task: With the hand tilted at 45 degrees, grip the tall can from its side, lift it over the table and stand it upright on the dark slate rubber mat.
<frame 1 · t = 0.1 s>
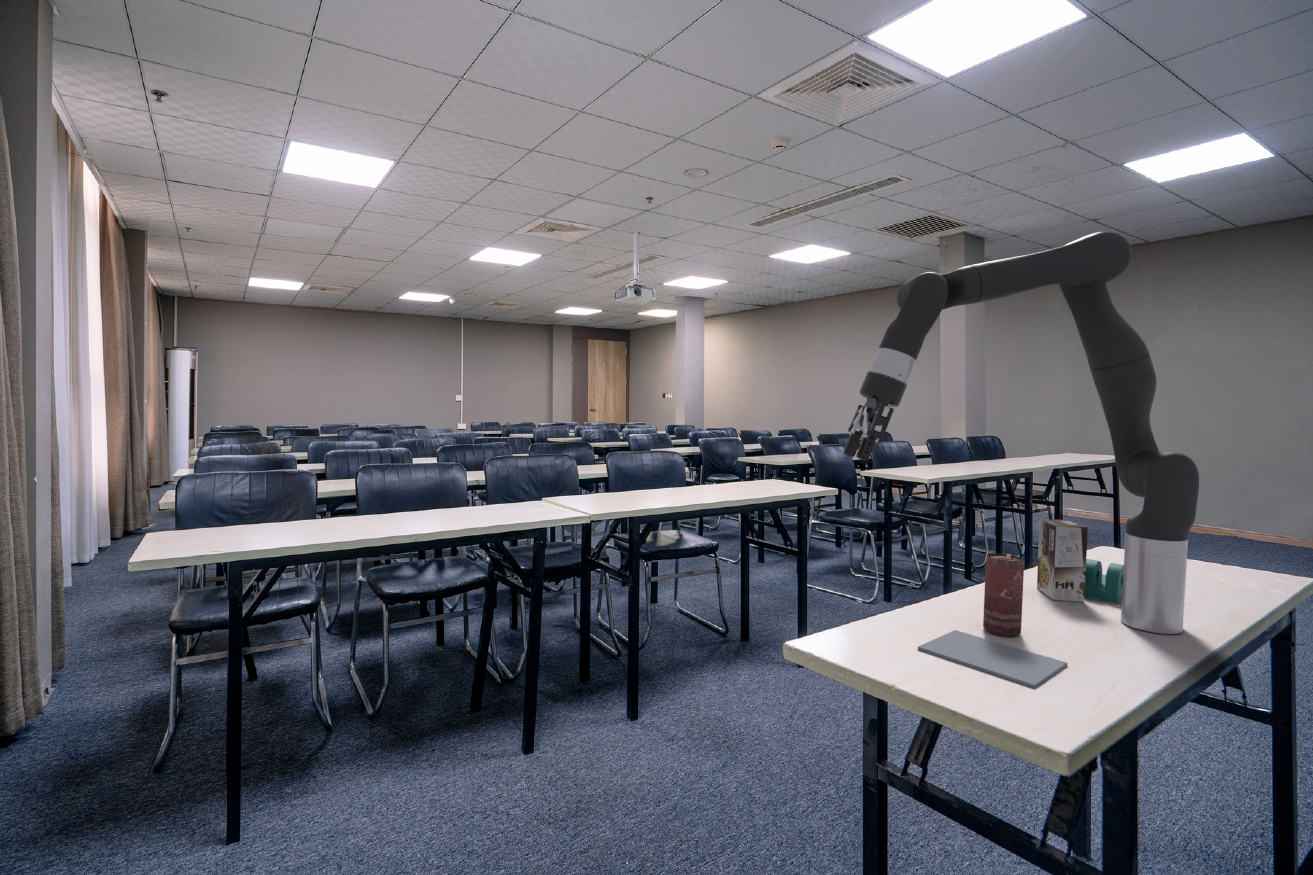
hand: (854, 457, 118), 31 cm above the table, tool tilted 20°, fingers open, 8 cm apart
coffee box: (1059, 595, 137), on the table
mat: (990, 657, 103), on the table
can: (1001, 632, 114), on the table
bracket: (1110, 593, 140), on the table
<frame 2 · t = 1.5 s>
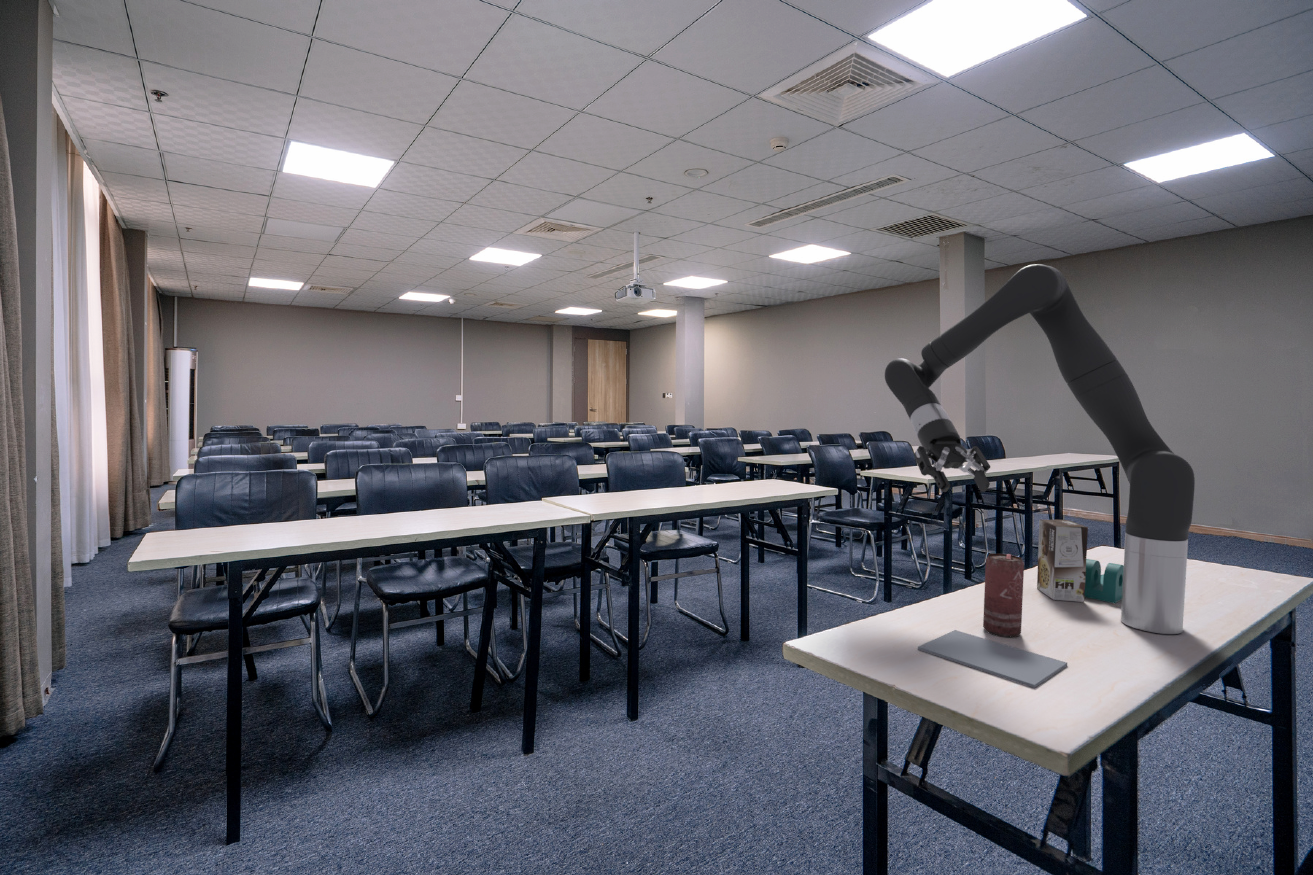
hand: (966, 489, 124), 25 cm above the table, tool tilted 45°, fingers open, 8 cm apart
nothing on the table moved.
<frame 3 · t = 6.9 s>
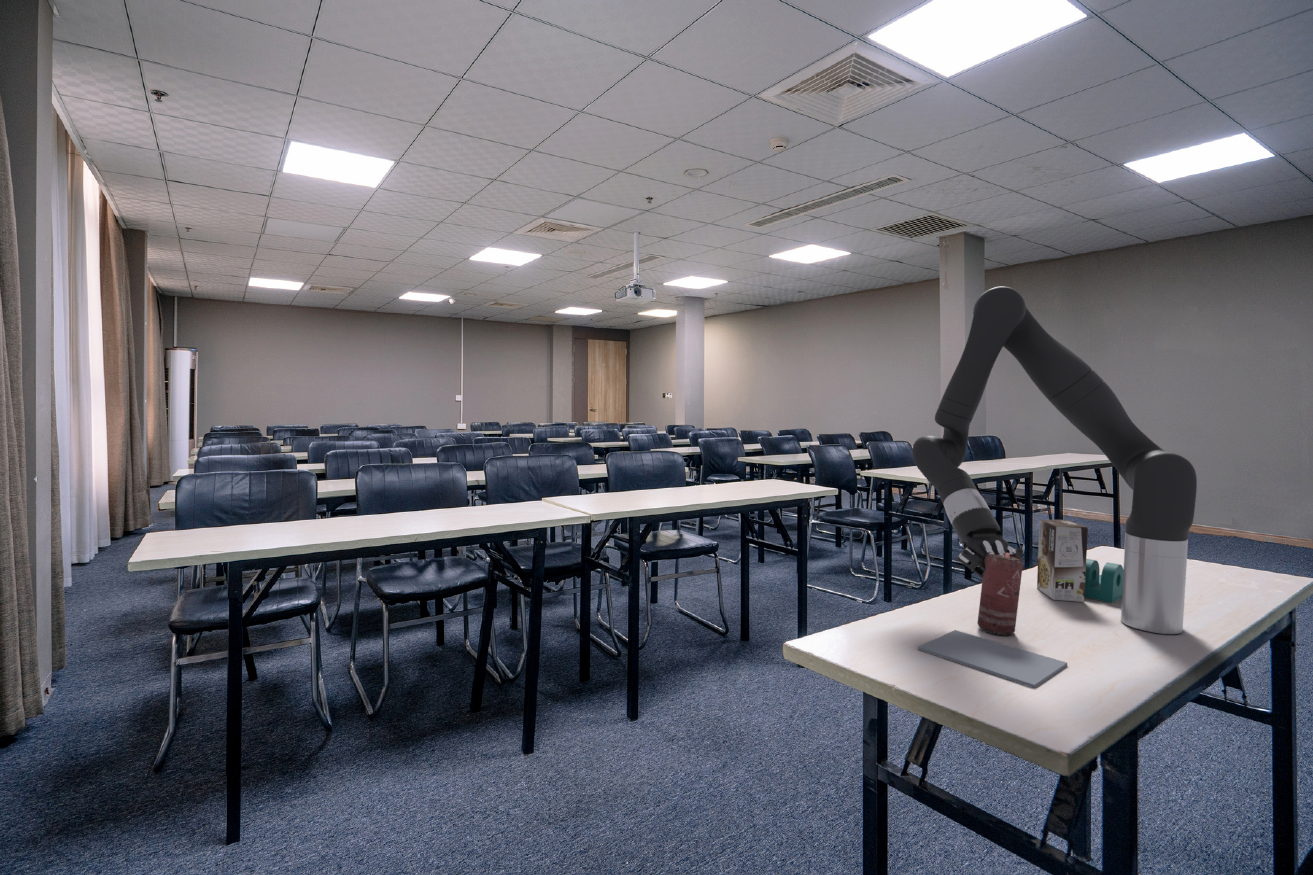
hand: (1012, 597, 112), 7 cm above the table, tool tilted 45°, fingers closed
can: (995, 630, 115), on the table, touching hand
everything else where it was.
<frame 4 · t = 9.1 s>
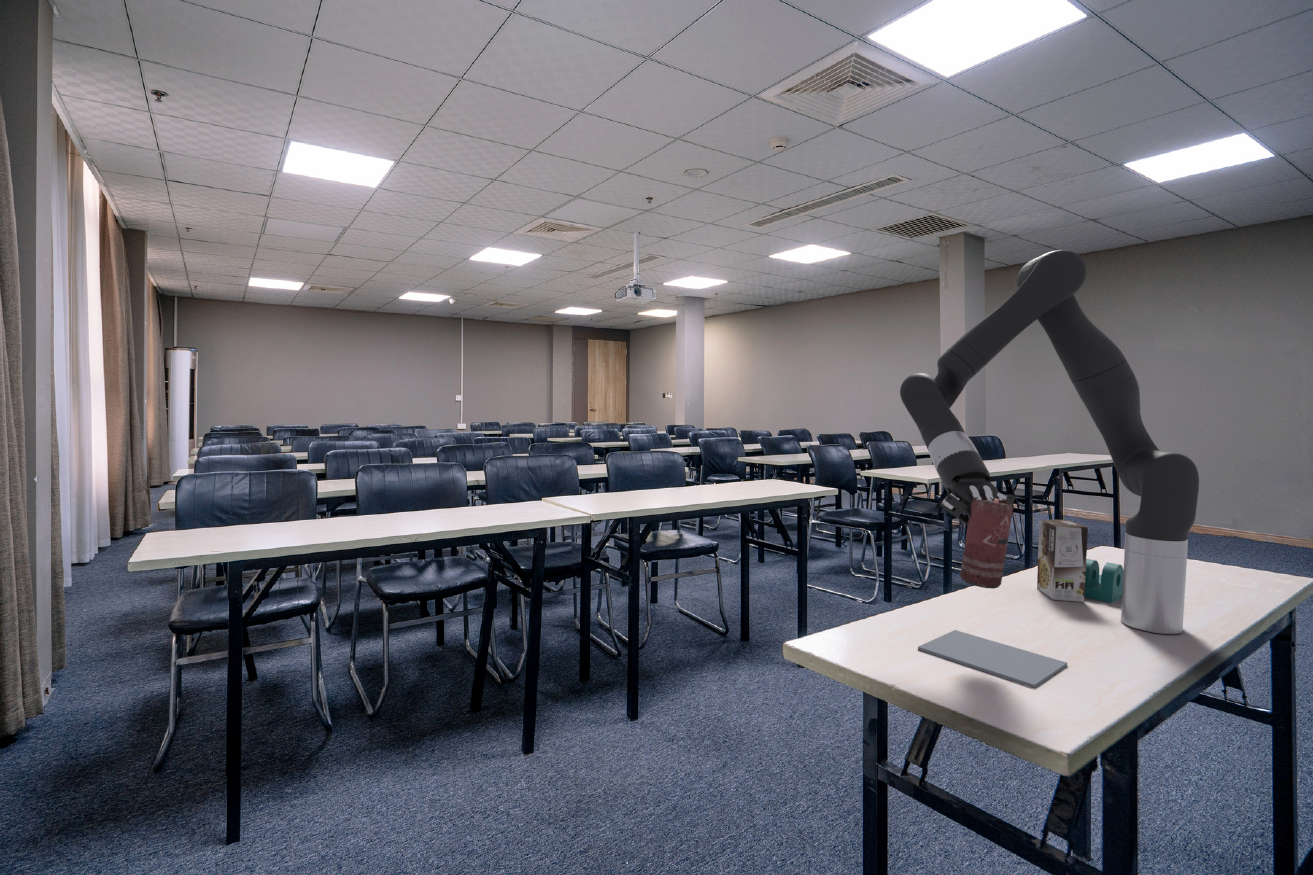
hand: (1000, 545, 100), 19 cm above the table, tool tilted 45°, fingers closed
can: (979, 583, 104), point 12 cm above the table, touching hand
everything else where it was.
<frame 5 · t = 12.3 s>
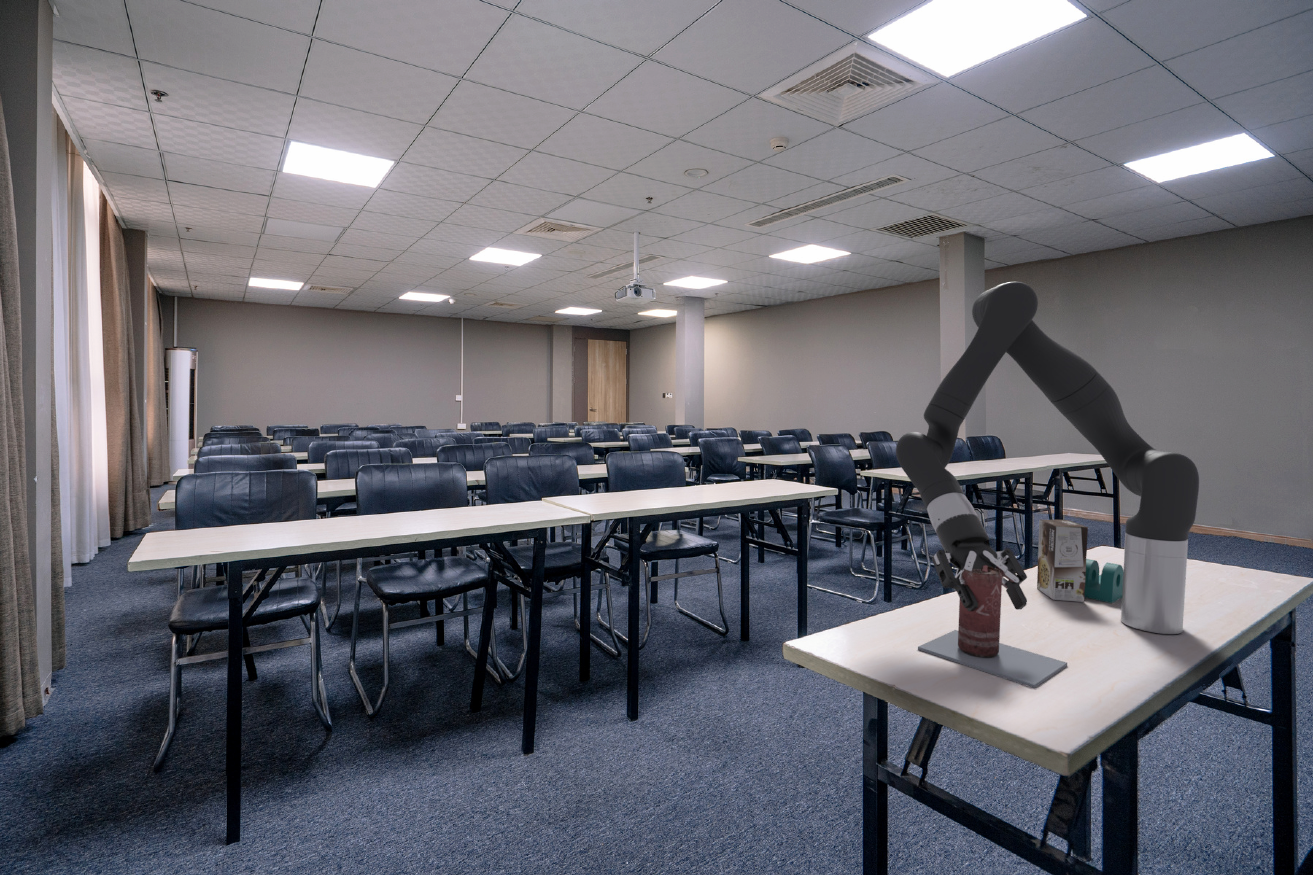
hand: (998, 608, 101), 9 cm above the table, tool tilted 45°, fingers open, 8 cm apart
can: (977, 652, 104), resting on mat, touching gripper
everything else where it was.
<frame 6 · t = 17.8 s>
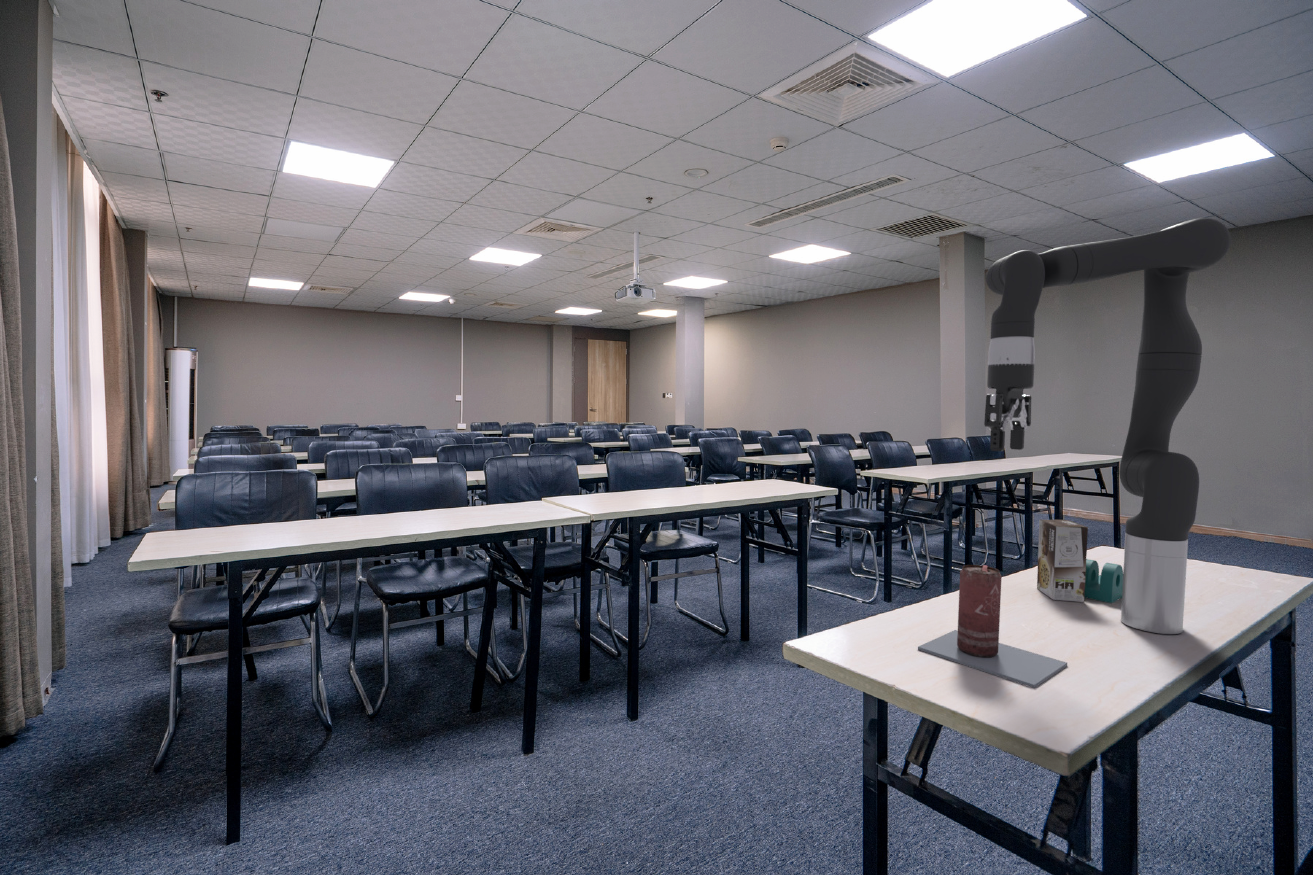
hand: (1007, 450, 117), 33 cm above the table, tool pointing down, fingers open, 8 cm apart
can: (977, 652, 104), resting on mat
everything else where it was.
at the end: can inside the target area on the mat (2.0 cm from its centre), point 0.3 cm above the mat's base; can tilted 0°; the gripper is holding nothing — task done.
